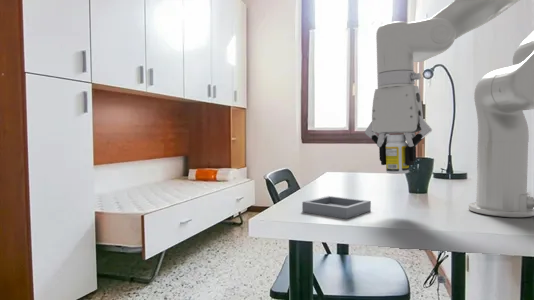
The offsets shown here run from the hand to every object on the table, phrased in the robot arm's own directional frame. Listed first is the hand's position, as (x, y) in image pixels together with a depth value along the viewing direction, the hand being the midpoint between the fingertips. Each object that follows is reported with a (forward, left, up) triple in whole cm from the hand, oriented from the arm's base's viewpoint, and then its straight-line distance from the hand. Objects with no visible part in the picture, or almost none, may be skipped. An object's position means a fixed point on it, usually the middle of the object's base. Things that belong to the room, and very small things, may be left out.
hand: (397, 163), depth 84 cm
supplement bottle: (0, 0, -2) cm, 2 cm away
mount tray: (+11, +8, -11) cm, 17 cm away
